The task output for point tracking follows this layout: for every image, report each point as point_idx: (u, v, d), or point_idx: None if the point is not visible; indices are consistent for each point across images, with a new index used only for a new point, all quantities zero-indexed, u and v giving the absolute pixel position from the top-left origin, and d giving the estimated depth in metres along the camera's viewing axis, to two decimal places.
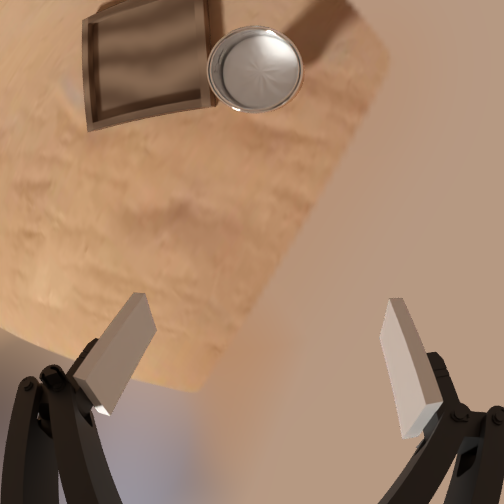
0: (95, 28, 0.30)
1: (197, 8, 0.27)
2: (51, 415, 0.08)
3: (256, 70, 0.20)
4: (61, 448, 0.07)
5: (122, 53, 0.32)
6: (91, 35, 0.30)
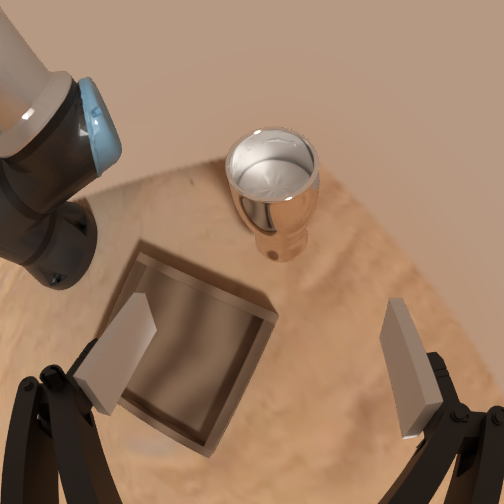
0: None
1: (167, 272, 0.36)
2: (51, 415, 0.08)
3: (272, 191, 0.23)
4: (61, 448, 0.07)
5: (155, 371, 0.34)
6: None
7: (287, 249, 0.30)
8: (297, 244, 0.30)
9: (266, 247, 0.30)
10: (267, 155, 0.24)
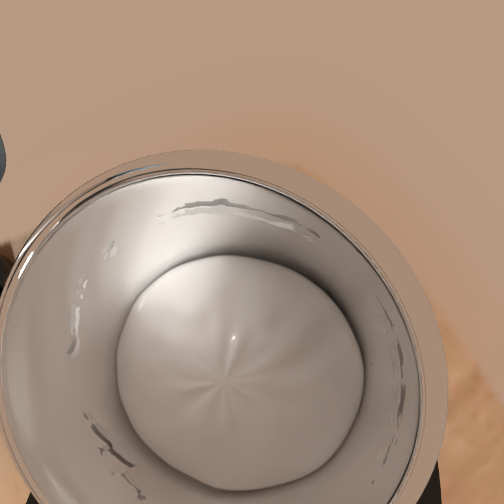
0: None
1: None
2: None
3: (213, 391, 0.06)
4: None
5: None
6: None
7: None
8: None
9: None
10: (202, 246, 0.07)
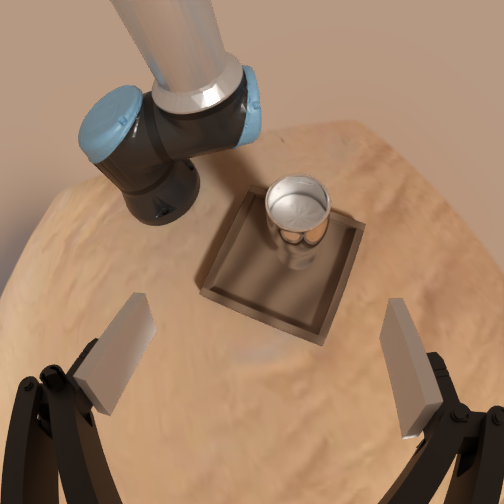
0: (218, 291, 0.45)
1: None
2: (51, 415, 0.08)
3: (295, 219, 0.32)
4: (61, 448, 0.07)
5: (270, 277, 0.45)
6: (223, 296, 0.45)
7: (304, 260, 0.38)
8: (311, 255, 0.39)
9: (287, 258, 0.39)
10: (290, 191, 0.33)
